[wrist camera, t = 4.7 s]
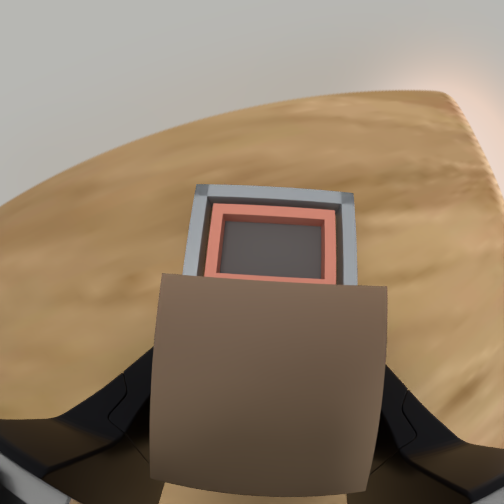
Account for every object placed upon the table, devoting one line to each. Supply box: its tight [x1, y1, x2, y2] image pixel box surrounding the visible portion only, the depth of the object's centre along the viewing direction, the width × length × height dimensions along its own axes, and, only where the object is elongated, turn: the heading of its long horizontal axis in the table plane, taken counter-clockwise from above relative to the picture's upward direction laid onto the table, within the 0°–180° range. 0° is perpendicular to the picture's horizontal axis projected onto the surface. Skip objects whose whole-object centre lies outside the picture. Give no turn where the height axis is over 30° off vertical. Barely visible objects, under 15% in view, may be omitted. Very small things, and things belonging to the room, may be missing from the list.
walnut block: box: [150, 273, 387, 497], centre depth 10 cm, size 4×4×11 cm
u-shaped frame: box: [183, 184, 357, 285], centre depth 20 cm, size 18×12×2 cm, turn 176°
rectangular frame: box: [204, 203, 336, 285], centre depth 21 cm, size 6×9×2 cm, turn 86°
